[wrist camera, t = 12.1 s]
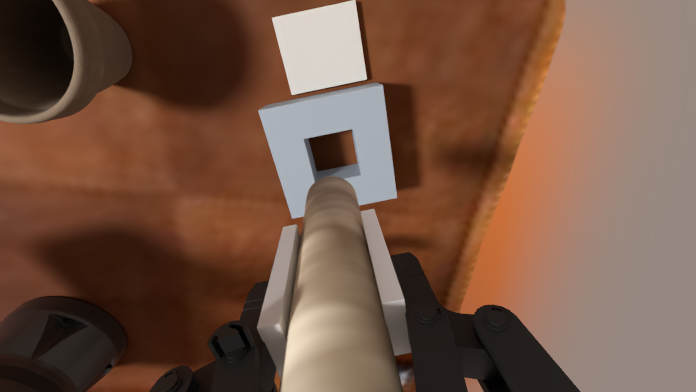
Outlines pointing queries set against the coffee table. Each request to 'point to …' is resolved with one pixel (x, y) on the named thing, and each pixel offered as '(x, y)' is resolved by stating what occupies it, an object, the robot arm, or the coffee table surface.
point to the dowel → (336, 303)
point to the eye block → (325, 118)
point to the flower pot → (56, 57)
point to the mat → (321, 47)
